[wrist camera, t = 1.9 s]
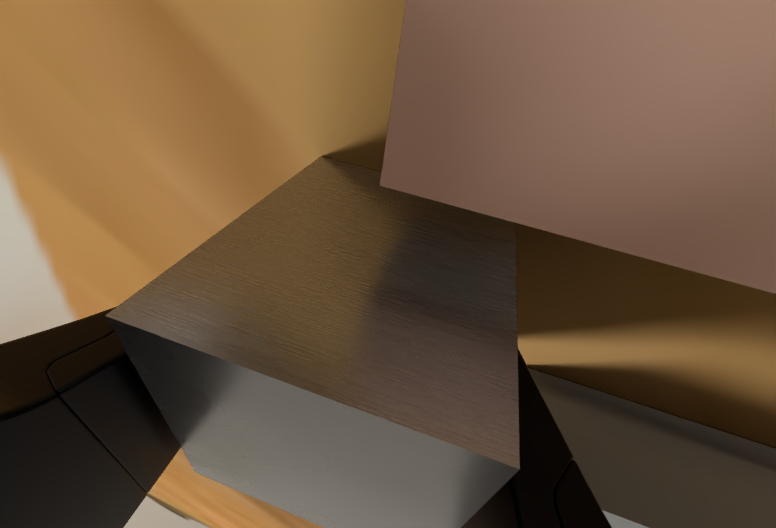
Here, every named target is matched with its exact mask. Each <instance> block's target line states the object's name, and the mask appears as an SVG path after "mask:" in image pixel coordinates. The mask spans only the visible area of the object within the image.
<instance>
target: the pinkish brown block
mask: <svg viewBox="0 0 776 528" xmlns="http://www.w3.org/2000/svg"><path fill="white" fill-rule="evenodd" d="M380 186H383V187H387V188H391V189H394V190H398V191H402V192H405V193H409V194H412V195H416V196H420V197H423V198H427V199H431V200H434V201H438V202H442V203H445V204H449V205H453V206H456V207H460V208H464V209H467V210H471V211H475V212H478V213H482V214H485V215H489V216H493V217H496V218H500V219H504V220H507V221H511V222H515V223H518V224H522V225H526V226H529V227H533V228H537V229H540V230H544V231H548V232H551V233H555V234H558V235H562V236H566V237H569V238H573V239H577V240H580V241H584V242H588V243H591V244H595V245H599V246H602V247H606V248H610V249H613V250H617V251H621V252H624V253H628V254H631V255H635V256H639V257H642V258H646V259H650V260H653V261H657V262H661V263H664V264H668V265H672V266H675V267H679V268H683V269H686V270H690V271H694V272H697V273H701V274H705V275H708V276H712V277H715V278H719V279H723V280H726V281H730V282H734V283H737V284H741V285H745V286H748V287H752V288H756V289H759V290H763V291H767V292H770V293H774V294H776V0H406V4H405V11H404V18H403V25H402V32H401V39H400V46H399V53H398V60H397V67H396V74H395V81H394V88H393V95H392V102H391V109H390V116H389V123H388V130H387V137H386V144H385V151H384V158H383V165H382V172H381V179H380Z"/></svg>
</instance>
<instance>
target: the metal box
mask: <svg viewBox="0 0 776 528" xmlns="http://www.w3.org/2000/svg"><path fill="white" fill-rule="evenodd" d="M380 179H381V172H380V171H376V170H372V169H368V168H365V167H361V166H357V165H353V164H349V163H346V162H342V161H338V160H334V159H330V158H327V157H323V156H321V157H319V158H318V159H317V160H315V161H314V162H313V163H311V164H310V165H308V166H307V167H306V168H304V169H303V170H302V171H300V172H299V173H298V174H296V175H295V176H294V177H292V178H291V179H290V180H288V181H287V182H285V183H284V184H283V185H281V186H280V187H279V188H277V189H276V190H275V191H273V192H272V193H271V194H269V195H268V196H266V197H265V198H264V199H262V200H261V201H260V202H258V203H257V204H256V205H254V206H253V207H252V208H250V209H249V210H248V211H246V212H245V213H243V214H242V215H241V216H239V217H238V218H237V219H235V220H234V221H233V222H231V223H230V224H229V225H227V226H226V227H224V228H223V229H222V230H220V231H219V232H218V233H216V234H215V235H214V236H212V237H211V238H210V239H208V240H207V241H206V242H204V243H203V244H201V245H200V246H199V247H197V248H196V249H195V250H193V251H192V252H191V253H189V254H188V255H187V256H185V257H184V258H183V259H181V260H180V261H178V262H177V263H176V264H174V265H173V266H172V267H170V268H169V269H168V270H166V271H165V272H164V273H162V274H161V275H159V276H158V277H157V278H155V279H154V280H153V281H151V282H150V283H149V284H147V285H146V286H145V287H143V288H142V289H141V290H139V291H138V292H136V293H135V294H134V295H132V296H131V297H130V298H128V299H127V300H126V301H124V302H123V303H122V304H120V305H119V306H118V307H116V308H115V309H113V310H112V311H111V312H109V313H108V314H107V315H105V317H106V318H107V320H108V322H109V323H110V325H111V327H112V329H113V330H114V332H115V334H116V336H117V337H118V339H119V341H120V343H121V344H122V346H123V348H124V349H125V351H126V353H127V355H128V356H129V358H130V360H131V362H132V363H133V365H134V367H135V368H136V370H137V372H138V374H139V375H140V377H141V379H142V381H143V382H144V384H145V386H146V388H147V389H148V391H149V393H150V394H151V396H152V398H153V400H154V401H155V403H156V405H157V407H158V408H159V410H160V412H161V414H162V415H163V417H164V419H165V420H166V422H167V424H168V426H169V427H170V429H171V431H172V433H173V434H174V436H175V438H176V440H177V441H178V443H179V445H180V446H181V448H182V450H183V452H184V453H185V455H186V457H187V459H188V460H189V462H190V464H191V465H192V467H193V469H194V471H195V472H196V473H198V474H201V475H203V476H205V477H208V478H210V479H212V480H215V481H217V482H219V483H222V484H224V485H226V486H229V487H231V488H233V489H236V490H238V491H240V492H243V493H245V494H247V495H249V496H252V497H254V498H256V499H259V500H261V501H263V502H266V503H268V504H270V505H273V506H275V507H277V508H280V509H282V510H284V511H287V512H289V513H291V514H294V515H296V516H298V517H301V518H303V519H305V520H308V521H310V522H312V523H315V524H317V525H319V526H322V527H324V528H461V527H462V526H463V525H464V524H465V523H466V522H467V521H468V520H469V519H470V518H471V517H472V516H473V515H474V514H475V513H476V512H477V511H478V510H479V509H480V508H481V507H482V506H483V505H484V504H485V503H486V502H487V501H488V500H489V499H490V498H491V497H492V496H493V495H494V494H495V493H496V492H497V491H498V490H499V489H500V488H501V487H502V486H503V485H504V484H505V483H506V482H507V481H508V480H510V479H511V478H512V477H513V476H514V475H515V474H516V473H517V472H518V471H519V470H520V456H519V400H518V344H517V288H516V233H515V222H511V221H507V220H504V219H500V218H496V217H493V216H489V215H485V214H482V213H478V212H475V211H471V210H467V209H464V208H460V207H456V206H453V205H449V204H445V203H442V202H438V201H434V200H431V199H427V198H423V197H420V196H416V195H412V194H409V193H405V192H402V191H398V190H394V189H391V188H387V187H383V186H380Z"/></svg>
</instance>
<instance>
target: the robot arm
mask: <svg viewBox="0 0 776 528" xmlns="http://www.w3.org/2000/svg"><path fill="white" fill-rule="evenodd" d="M117 307H118V306H117ZM115 308H116V307H114V308H111V309H109V310H106V311H103V312H100V313H97V314H94V315H92V316H89V317H86V318H83V319H80V320H77V321H74V322H71V323H67V324H64V325H61V326H58V327H55V328H52V329H49V330H46V331H43V332H39V333H36V334H33V335H29V336H26V337H22V338H19V339H16V340H13V341H10V342H6V343H3V344H0V528H123V527H124V526H125V525H126V523H127V522H128V520H129V519H130V518H131V516H132V515H133V513H134V512H135V511H136V509H137V508H138V506H139V505H140V504H141V502H142V501H143V499H144V498H145V497H146V495H147V492H149V491H150V489H151V488H152V487H153V485H154V484H155V482H156V481H157V480H158V478H159V477H160V476H161V474H162V473H163V471H164V470H165V469H166V467H167V466H168V464H169V463H170V462H171V460H172V459H173V457H174V456H175V455H176V453H177V452H178V450H179V449H180V448H181V446H180V445H179V443H178V441H177V440H176V438H175V436H174V434H173V433H172V431H171V429H170V427H169V426H168V424H167V422H166V420H165V419H164V417H163V415H162V414H161V412H160V410H159V408H158V407H157V405H156V403H155V401H154V400H153V398H152V396H151V394H150V393H149V391H148V389H147V388H146V386H145V384H144V382H143V381H142V379H141V377H140V375H139V374H138V372H137V370H136V368H135V367H134V365H133V363H132V362H131V360H130V358H129V356H128V355H127V353H126V351H125V349H124V348H123V346H122V344H121V343H120V341H119V339H118V337H117V336H116V334H115V332H114V330H113V329H112V327H111V325H110V323H109V322H108V320H107V318H106V317H105V315H107V314H108V313H109V312H111V311H112V310H113V309H115ZM518 400H519V456H520V470H519V471H518V472H517V473H516V474H515V475H514V476H513V477H512V478H511V479H510V480H508V481H507V482H506V483H505V484H504V485H503V486H502V487H501V488H500V489H499V490H498V491H497V492H496V493H495V494H494V495H493V496H492V497H491V498H490V499H489V500H488V501H487V502H486V503H485V504H484V505H483V506H482V507H481V508H480V509H479V510H478V511H477V512H476V513H475V514H474V515H473V516H472V517H471V518H470V519H469V520H468V521H467V522H466V523H465V524H464V525H463V526H462V527H461V528H612V527H611V525H610V523H609V522H608V520H607V518H606V516H605V515H604V513H603V511H602V509H601V507H600V506H599V504H598V502H597V500H596V498H595V496H594V494H593V493H592V491H591V489H590V487H589V485H588V483H587V481H586V480H585V478H584V476H583V474H582V472H581V470H580V468H579V466H578V464H577V462H576V461H575V460H572V459H573V455H572V453H571V451H570V449H569V447H568V445H567V443H566V441H565V439H564V437H563V435H562V433H561V431H560V429H559V427H558V425H557V423H556V422H555V420H554V418H553V416H552V414H551V412H550V410H549V408H548V406H547V404H546V402H545V400H544V398H543V396H542V394H541V392H540V390H539V388H538V387H537V385H536V383H535V381H534V379H533V377H532V375H531V373H530V371H529V369H528V367H527V365H526V363H525V361H524V359H523V357H522V355H521V353H520V351H519V350H518Z"/></svg>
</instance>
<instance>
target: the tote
mask: <svg viewBox="0 0 776 528" xmlns="http://www.w3.org/2000/svg"><path fill="white" fill-rule="evenodd" d="M528 369H529V371H530V373H531V375H532V377H533V379H534V381H535V383H536V385H537V387H538V388H539V390H540V392H541V394H542V396H543V398H544V400H545V402H546V404H547V406H548V408H549V410H550V412H551V414H552V416H553V418H554V420H555V422H556V423H557V425H558V427H559V429H560V431H561V433H562V435H563V437H564V439H565V441H566V443H567V445H568V447H569V449H570V451H571V453H572V455H573V459H572V460H575V461H576V462H577V464H578V466H579V468H580V470H581V472H582V474H583V476H584V478H585V480H586V481H587V483H588V485H589V487H590V489H591V491H592V493H593V494H594V496H595V498H596V500H597V502H598V504H599V506H600V507H601V509H602V511H603V513H604V515H605V516H606V518H607V520H608V522H609V523H610V525H611V527H612V528H776V449H775V448H772V447H769V446H766V445H763V444H760V443H757V442H754V441H751V440H747V439H744V438H741V437H738V436H735V435H732V434H729V433H726V432H723V431H720V430H717V429H714V428H711V427H708V426H705V425H702V424H699V423H695V422H692V421H689V420H686V419H683V418H680V417H677V416H674V415H671V414H668V413H665V412H662V411H659V410H656V409H653V408H650V407H646V406H643V405H640V404H637V403H634V402H631V401H628V400H625V399H622V398H619V397H616V396H613V395H610V394H607V393H604V392H601V391H598V390H594V389H591V388H588V387H585V386H582V385H579V384H576V383H573V382H570V381H567V380H564V379H561V378H558V377H555V376H552V375H549V374H546V373H542V372H539V371H536V370H533V369H530V368H528Z"/></svg>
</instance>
